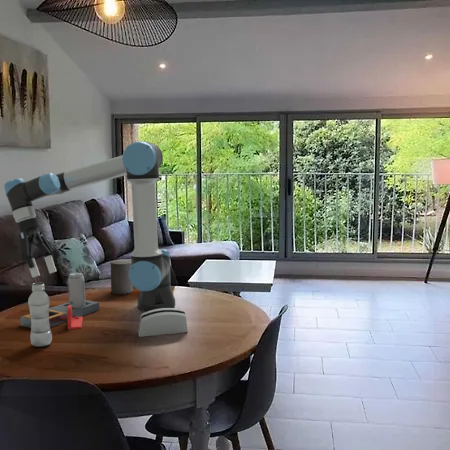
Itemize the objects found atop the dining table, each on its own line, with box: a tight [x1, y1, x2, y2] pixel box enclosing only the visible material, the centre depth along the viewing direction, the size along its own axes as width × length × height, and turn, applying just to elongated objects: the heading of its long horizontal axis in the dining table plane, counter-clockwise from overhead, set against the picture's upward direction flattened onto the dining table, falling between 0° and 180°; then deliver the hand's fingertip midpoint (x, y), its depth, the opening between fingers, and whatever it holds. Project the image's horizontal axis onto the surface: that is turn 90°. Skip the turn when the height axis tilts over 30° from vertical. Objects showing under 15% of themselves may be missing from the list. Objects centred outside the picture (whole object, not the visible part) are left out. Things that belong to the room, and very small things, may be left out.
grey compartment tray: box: [19, 299, 100, 329], centre depth 194 cm, size 11×28×3 cm, turn 150°
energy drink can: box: [67, 272, 86, 308], centre depth 200 cm, size 6×6×15 cm
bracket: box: [67, 305, 84, 330], centre depth 187 cm, size 12×4×8 cm, turn 12°
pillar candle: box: [110, 259, 134, 295], centre depth 231 cm, size 10×10×15 cm
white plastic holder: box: [137, 307, 189, 337], centre depth 176 cm, size 17×5×10 cm, turn 106°
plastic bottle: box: [27, 282, 53, 348], centre depth 164 cm, size 6×7×20 cm
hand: (45, 274), depth 192 cm, fingers open, 13 cm apart
